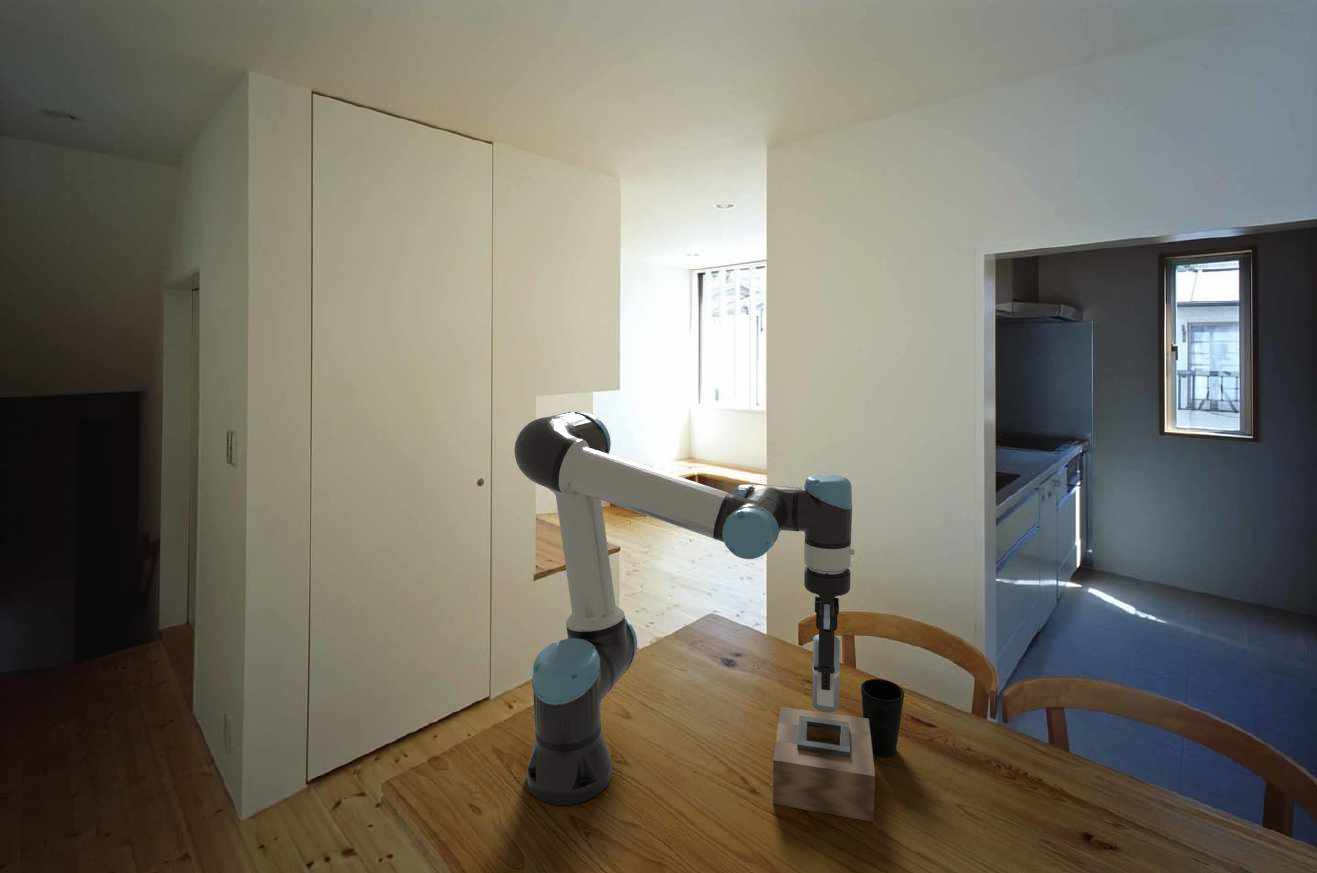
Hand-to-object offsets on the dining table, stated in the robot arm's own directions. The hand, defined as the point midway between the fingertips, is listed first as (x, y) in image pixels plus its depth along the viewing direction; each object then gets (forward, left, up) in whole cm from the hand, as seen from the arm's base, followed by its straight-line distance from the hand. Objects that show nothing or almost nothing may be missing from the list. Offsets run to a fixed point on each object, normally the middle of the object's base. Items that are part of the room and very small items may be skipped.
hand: (825, 696), depth 106 cm
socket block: (0, 0, -16) cm, 16 cm away
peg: (0, 0, -2) cm, 2 cm away
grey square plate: (0, 0, -11) cm, 11 cm away
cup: (+10, +12, -16) cm, 23 cm away
